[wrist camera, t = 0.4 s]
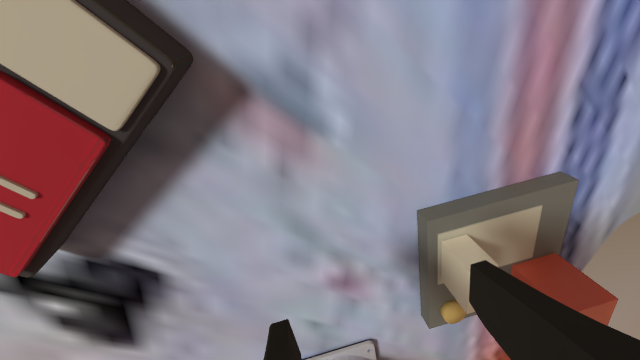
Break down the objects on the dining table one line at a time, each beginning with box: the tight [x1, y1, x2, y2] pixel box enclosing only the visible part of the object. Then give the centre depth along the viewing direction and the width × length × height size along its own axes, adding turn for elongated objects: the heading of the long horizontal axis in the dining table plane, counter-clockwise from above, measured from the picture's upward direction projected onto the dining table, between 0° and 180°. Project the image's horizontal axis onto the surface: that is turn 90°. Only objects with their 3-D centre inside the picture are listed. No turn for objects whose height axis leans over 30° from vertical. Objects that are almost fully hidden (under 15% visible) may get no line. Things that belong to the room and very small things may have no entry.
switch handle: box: [441, 234, 498, 314], centre depth 21 cm, size 4×2×3 cm, turn 11°
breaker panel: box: [417, 172, 579, 329], centre depth 25 cm, size 12×12×2 cm
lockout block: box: [511, 253, 618, 325], centre depth 24 cm, size 4×4×5 cm
